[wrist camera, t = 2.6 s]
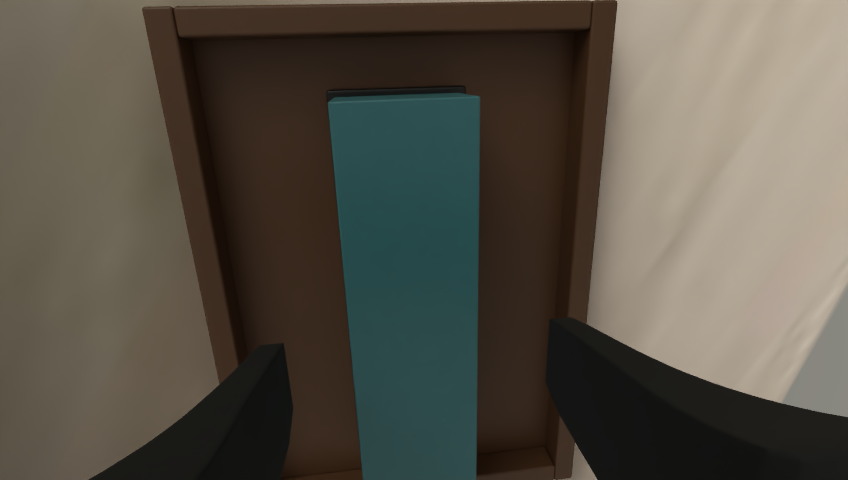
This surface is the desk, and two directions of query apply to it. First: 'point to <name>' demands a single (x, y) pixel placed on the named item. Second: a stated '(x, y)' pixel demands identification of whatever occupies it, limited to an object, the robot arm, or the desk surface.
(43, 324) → the desk surface
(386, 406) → the teal long block
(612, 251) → the desk surface
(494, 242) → the tray
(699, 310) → the desk surface
